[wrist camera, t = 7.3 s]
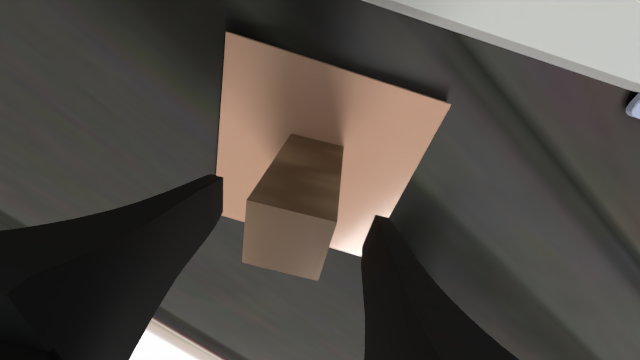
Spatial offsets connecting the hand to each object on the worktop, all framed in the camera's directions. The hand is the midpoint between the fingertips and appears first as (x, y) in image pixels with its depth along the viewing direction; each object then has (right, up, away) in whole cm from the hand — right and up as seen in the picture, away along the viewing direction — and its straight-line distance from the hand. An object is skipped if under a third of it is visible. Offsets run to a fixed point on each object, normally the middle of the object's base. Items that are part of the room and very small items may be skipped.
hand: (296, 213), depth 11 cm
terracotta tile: (+1, +3, +5) cm, 5 cm away
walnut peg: (+1, +3, +4) cm, 5 cm away
